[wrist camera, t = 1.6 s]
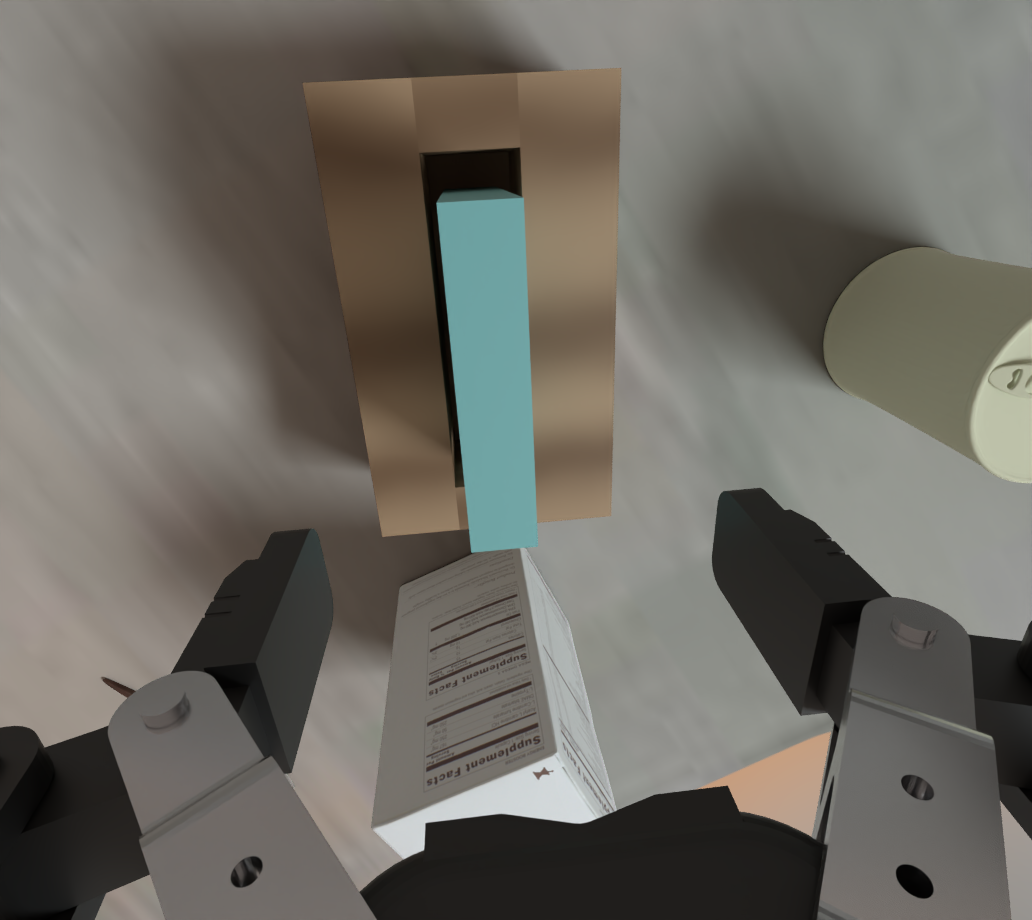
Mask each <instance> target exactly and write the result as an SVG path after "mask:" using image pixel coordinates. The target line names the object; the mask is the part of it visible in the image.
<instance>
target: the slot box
mask: <svg viewBox="0 0 1032 920" xmlns="http://www.w3.org/2000/svg"><path fill="white" fill-rule="evenodd" d="M302 84H303V89H304V95H305V101H306V106H307V112H308V118H309V123H310V129H311V135H312V141H313V146H314V152H315V158H316V163H317V169H318V175H319V180H320V186H321V192H322V197H323V203H324V209H325V214H326V220H327V226H328V231H329V237H330V243H331V248H332V254H333V260H334V265H335V271H336V277H337V282H338V288H339V294H340V299H341V305H342V311H343V317H344V322H345V328H346V334H347V339H348V345H349V351H350V356H351V362H352V368H353V373H354V379H355V385H356V390H357V396H358V402H359V407H360V413H361V419H362V424H363V430H364V436H365V441H366V447H367V453H368V458H369V464H370V470H371V476H372V481H373V487H374V493H375V498H376V504H377V510H378V515H379V521H380V527H381V532H382V537H387V536H398V535H409V534H420V533H430V532H441V531H452V530H463V529H469V524H468V514H467V504H466V494H465V484H464V474H463V464H462V454H461V444H460V434H459V424H458V414H457V404H456V394H455V384H454V374H453V364H452V354H451V344H450V334H449V324H448V314H447V304H446V294H445V284H444V274H443V264H442V254H441V244H440V234H439V224H438V214H437V204H436V203H437V201H438V199H439V198H440V196H441V194H442V193H443V191H444V189H458V188H475V187H493V186H495V187H498V188H500V189H503V190H505V191H508V192H511V193H513V194H516V195H518V196H521V197H523V198H524V215H525V240H526V264H527V289H528V314H529V338H530V363H531V387H532V412H533V437H534V461H535V486H536V510H537V523H540V522H551V521H562V520H573V519H584V518H594V517H605V516H611V494H612V451H613V407H614V363H615V320H616V276H617V233H618V189H619V146H620V102H621V68H610V69H589V70H567V71H545V72H524V73H502V74H481V75H459V76H437V77H416V78H394V79H373V80H351V81H329V82H308V83H302Z"/></svg>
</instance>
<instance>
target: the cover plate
mask: <svg viewBox="0 0 1032 920" xmlns="http://www.w3.org/2000/svg"><path fill="white" fill-rule="evenodd" d="M436 204H437V214H438V224H439V234H440V244H441V254H442V264H443V274H444V284H445V294H446V304H447V314H448V324H449V334H450V344H451V354H452V364H453V374H454V384H455V394H456V404H457V414H458V424H459V434H460V444H461V454H462V464H463V474H464V484H465V494H466V504H467V514H468V524H469V534H470V544H471V553H473V552H484V551H495V550H505V549H516V548H527V547H537V546H538V535H537V510H536V486H535V461H534V437H533V412H532V387H531V363H530V338H529V314H528V289H527V264H526V240H525V215H524V198H523V197H521V196H518V195H516V194H513V193H511V192H508V191H505V190H503V189H500V188H498V187H495V186H493V187H475V188H458V189H444V191H443V193H442V194H441V196H440V198H439V199H438V201H437V203H436Z"/></svg>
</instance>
